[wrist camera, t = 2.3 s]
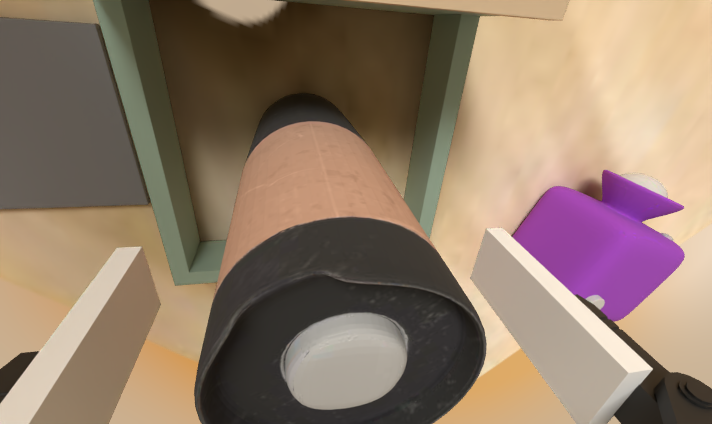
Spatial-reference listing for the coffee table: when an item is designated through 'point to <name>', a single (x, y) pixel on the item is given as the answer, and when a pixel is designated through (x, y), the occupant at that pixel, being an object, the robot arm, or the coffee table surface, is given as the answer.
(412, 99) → the coffee table surface
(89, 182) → the rubber mat
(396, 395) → the travel mug
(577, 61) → the coffee table surface
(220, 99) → the coffee table surface
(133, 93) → the frame
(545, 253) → the toy camera
